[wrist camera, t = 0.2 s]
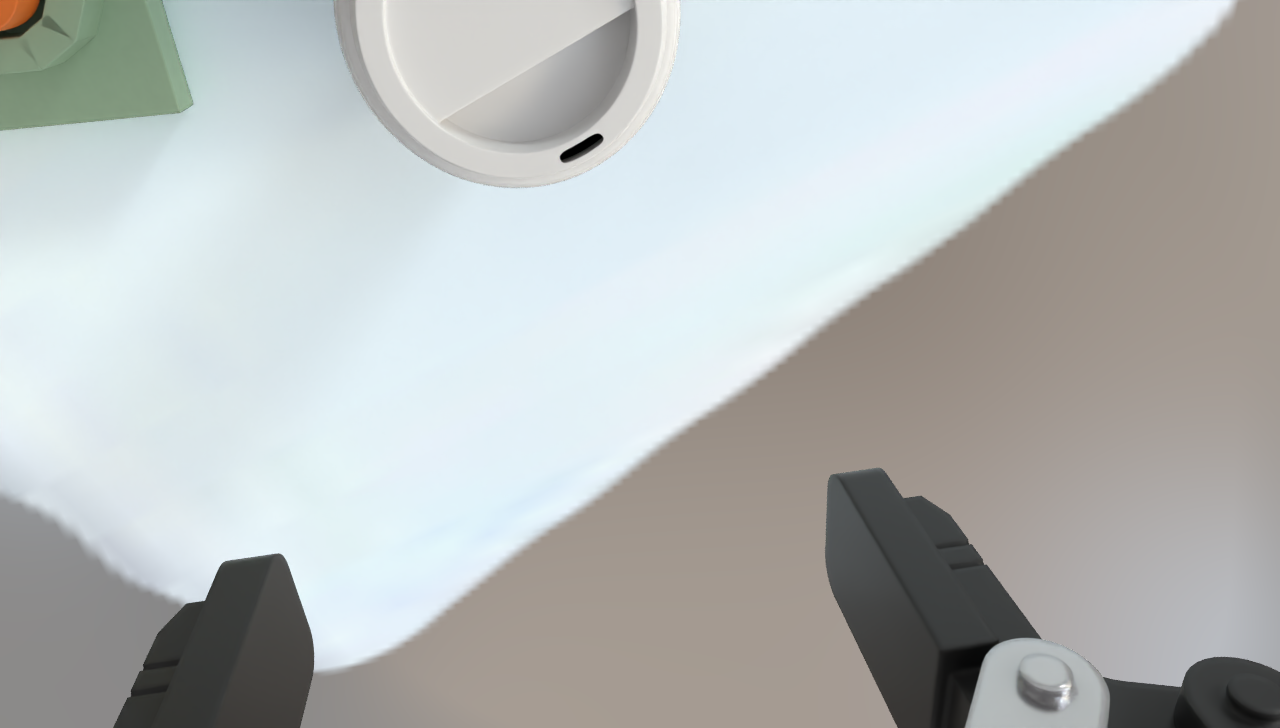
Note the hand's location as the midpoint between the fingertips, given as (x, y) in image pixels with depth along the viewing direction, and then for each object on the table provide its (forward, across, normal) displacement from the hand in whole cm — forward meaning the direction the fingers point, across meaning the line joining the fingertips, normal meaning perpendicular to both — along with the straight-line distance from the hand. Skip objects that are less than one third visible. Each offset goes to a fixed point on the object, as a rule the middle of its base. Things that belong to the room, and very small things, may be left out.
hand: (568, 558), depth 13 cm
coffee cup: (+29, 0, -6) cm, 30 cm away
